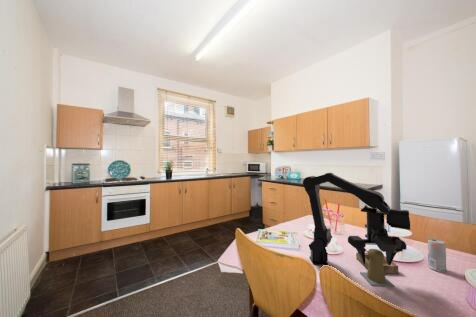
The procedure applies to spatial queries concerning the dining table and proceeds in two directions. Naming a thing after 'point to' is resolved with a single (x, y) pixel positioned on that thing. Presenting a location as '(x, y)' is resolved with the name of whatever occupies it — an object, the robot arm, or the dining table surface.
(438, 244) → the energy drink
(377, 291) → the dining table surface
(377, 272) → the cork
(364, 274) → the rubber mat
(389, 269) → the walnut frame
